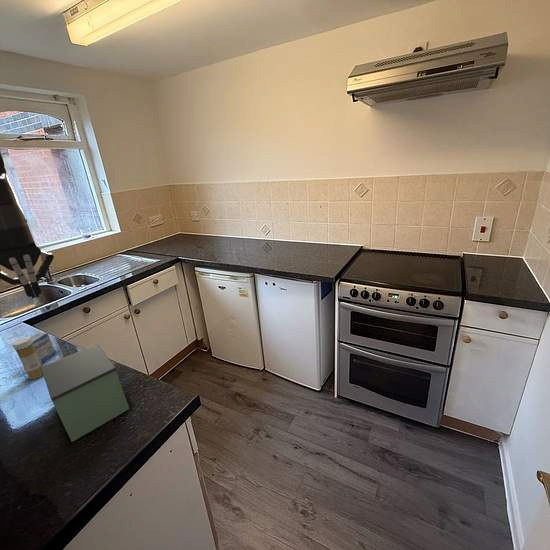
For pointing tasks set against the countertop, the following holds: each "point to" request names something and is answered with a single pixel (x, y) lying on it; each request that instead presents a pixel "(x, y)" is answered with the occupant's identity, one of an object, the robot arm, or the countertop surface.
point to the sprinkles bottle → (28, 357)
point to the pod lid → (76, 371)
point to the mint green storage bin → (91, 405)
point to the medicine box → (43, 346)
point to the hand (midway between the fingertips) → (35, 296)
